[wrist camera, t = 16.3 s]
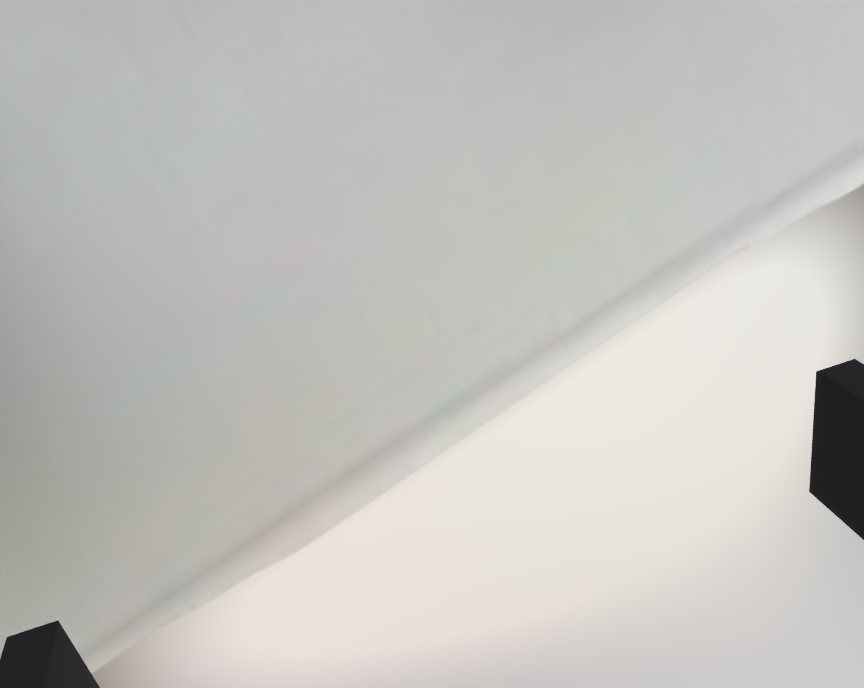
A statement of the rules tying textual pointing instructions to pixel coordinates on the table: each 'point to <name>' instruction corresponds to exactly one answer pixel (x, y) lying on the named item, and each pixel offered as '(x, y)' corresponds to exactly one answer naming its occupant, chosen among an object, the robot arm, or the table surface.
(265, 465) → the table surface
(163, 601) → the table surface
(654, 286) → the table surface
